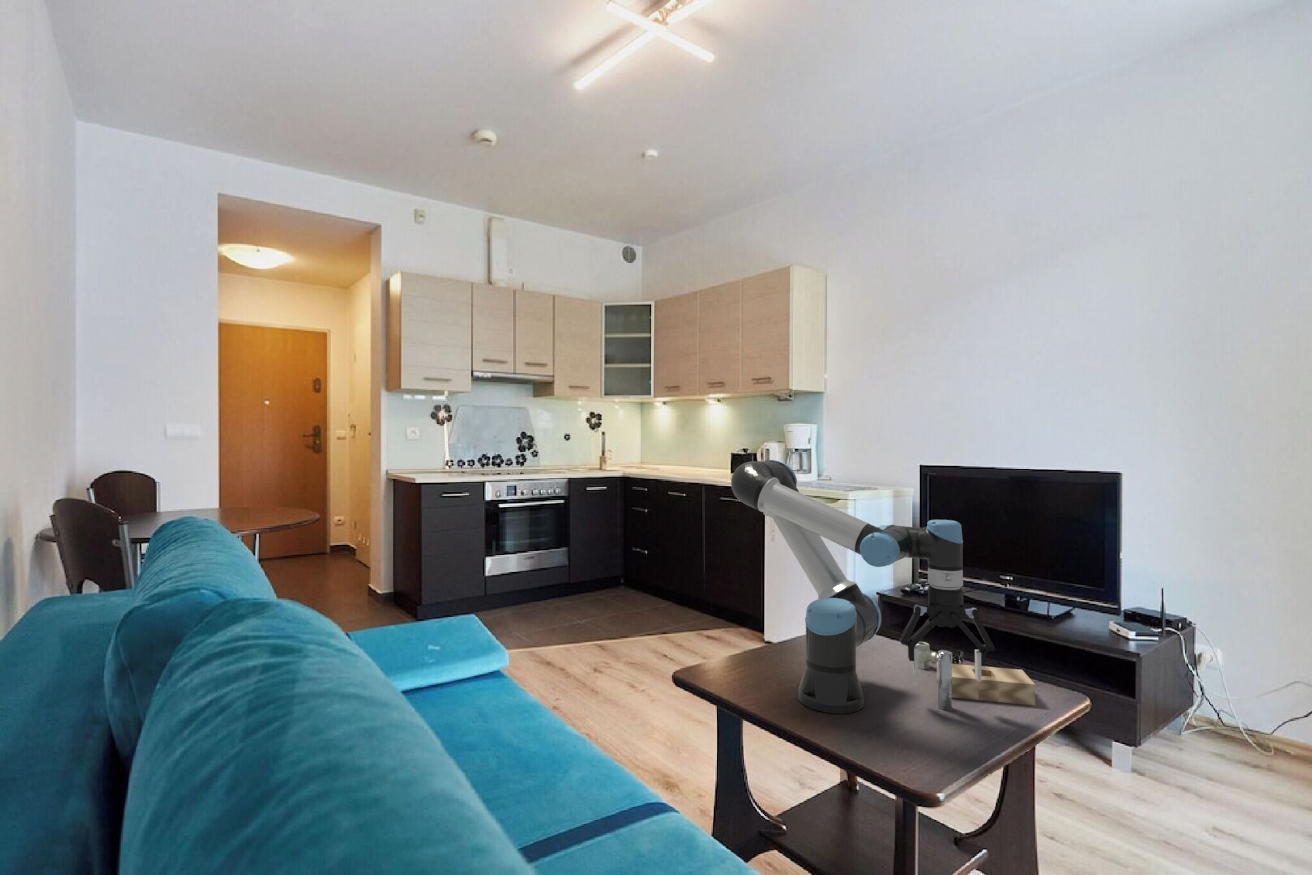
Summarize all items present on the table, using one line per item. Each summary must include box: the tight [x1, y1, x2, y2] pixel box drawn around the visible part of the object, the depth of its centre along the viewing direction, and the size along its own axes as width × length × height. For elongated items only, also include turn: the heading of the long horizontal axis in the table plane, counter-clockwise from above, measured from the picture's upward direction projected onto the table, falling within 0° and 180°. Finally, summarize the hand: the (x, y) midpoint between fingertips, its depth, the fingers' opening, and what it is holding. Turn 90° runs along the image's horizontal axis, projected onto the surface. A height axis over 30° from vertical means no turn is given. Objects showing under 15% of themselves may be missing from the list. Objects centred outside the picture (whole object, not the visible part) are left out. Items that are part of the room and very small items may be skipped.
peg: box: [937, 649, 953, 712], centre depth 149 cm, size 3×3×13 cm
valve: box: [916, 641, 964, 670], centre depth 174 cm, size 7×7×12 cm
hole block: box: [936, 662, 1036, 706], centre depth 158 cm, size 20×10×5 cm, turn 75°
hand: (946, 677), depth 149 cm, fingers open, 13 cm apart
